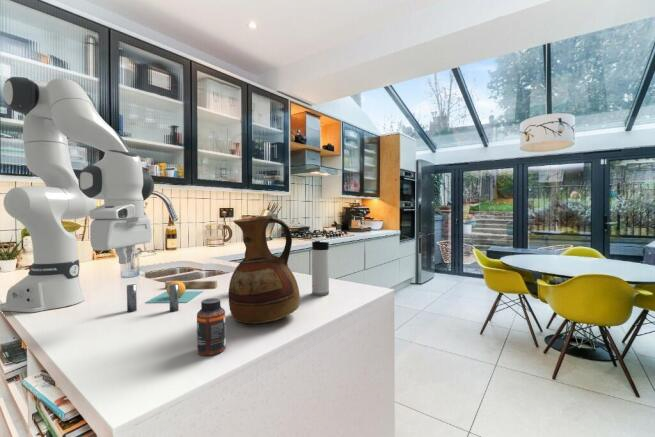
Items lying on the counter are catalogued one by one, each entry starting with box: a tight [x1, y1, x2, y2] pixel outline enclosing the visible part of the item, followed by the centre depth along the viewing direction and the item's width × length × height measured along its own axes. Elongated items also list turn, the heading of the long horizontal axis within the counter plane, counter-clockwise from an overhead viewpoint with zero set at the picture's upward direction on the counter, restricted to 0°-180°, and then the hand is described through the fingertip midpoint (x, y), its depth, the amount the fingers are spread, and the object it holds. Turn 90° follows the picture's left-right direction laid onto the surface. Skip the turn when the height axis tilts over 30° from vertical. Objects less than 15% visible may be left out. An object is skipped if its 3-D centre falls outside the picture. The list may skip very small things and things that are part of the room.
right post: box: [169, 284, 180, 313], centre depth 97 cm, size 2×2×8 cm
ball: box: [166, 280, 186, 298], centre depth 111 cm, size 6×6×6 cm
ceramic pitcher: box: [227, 214, 301, 324], centre depth 90 cm, size 20×20×30 cm
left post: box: [126, 283, 138, 313], centre depth 96 cm, size 2×2×8 cm
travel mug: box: [311, 240, 330, 297], centre depth 115 cm, size 6×7×20 cm
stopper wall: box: [164, 280, 218, 289], centre depth 125 cm, size 20×2×2 cm, turn 91°
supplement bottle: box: [196, 297, 227, 356], centre depth 69 cm, size 6×6×11 cm
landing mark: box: [144, 290, 203, 304], centre depth 112 cm, size 14×14×1 cm
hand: (125, 263), depth 83 cm, fingers closed
